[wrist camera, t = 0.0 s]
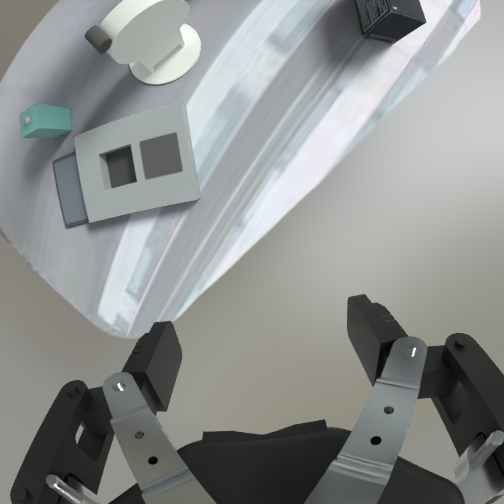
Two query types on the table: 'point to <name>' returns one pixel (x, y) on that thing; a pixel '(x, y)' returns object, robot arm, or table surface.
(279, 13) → the table surface
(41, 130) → the teal knobbed block
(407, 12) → the small box
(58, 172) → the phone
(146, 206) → the plate
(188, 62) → the white curved stand
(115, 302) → the table surface
